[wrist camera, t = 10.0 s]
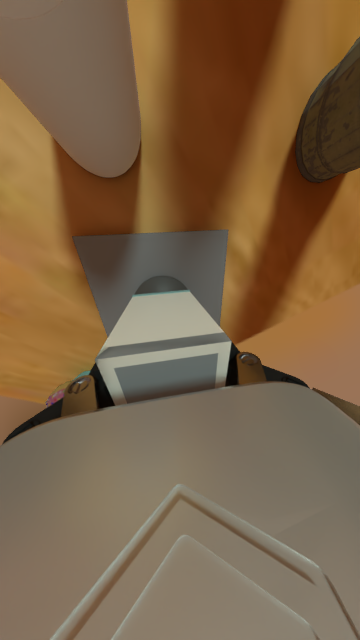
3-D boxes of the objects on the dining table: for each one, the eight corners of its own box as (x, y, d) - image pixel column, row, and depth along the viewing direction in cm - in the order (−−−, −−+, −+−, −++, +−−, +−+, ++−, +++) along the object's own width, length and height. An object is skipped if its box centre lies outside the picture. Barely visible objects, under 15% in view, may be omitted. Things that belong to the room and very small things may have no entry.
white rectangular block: (188, 289, 15) (232, 340, 6) (189, 334, 18) (221, 415, 9) (133, 294, 14) (92, 359, 6) (143, 340, 17) (127, 433, 8)
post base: (223, 231, 18) (329, 194, 7) (214, 341, 26) (256, 407, 15) (79, 237, 16) (-101, 201, 5) (118, 354, 24) (84, 441, 13)
